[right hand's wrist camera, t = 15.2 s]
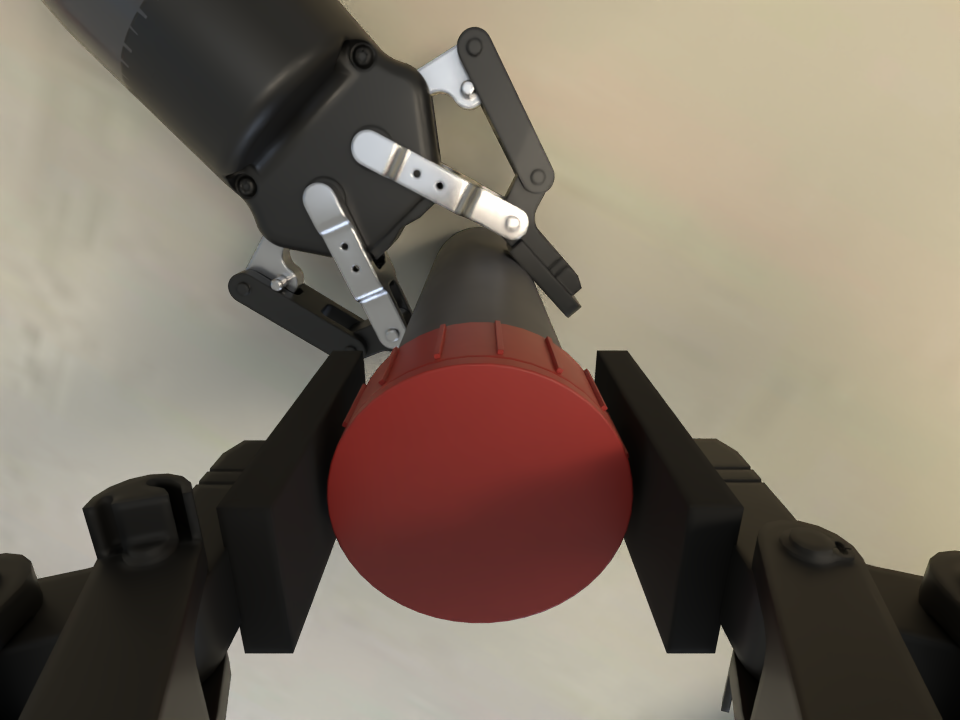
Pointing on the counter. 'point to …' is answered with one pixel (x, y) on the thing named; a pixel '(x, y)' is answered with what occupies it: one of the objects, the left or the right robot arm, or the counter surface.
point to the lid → (479, 476)
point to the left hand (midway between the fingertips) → (521, 348)
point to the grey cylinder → (478, 288)
